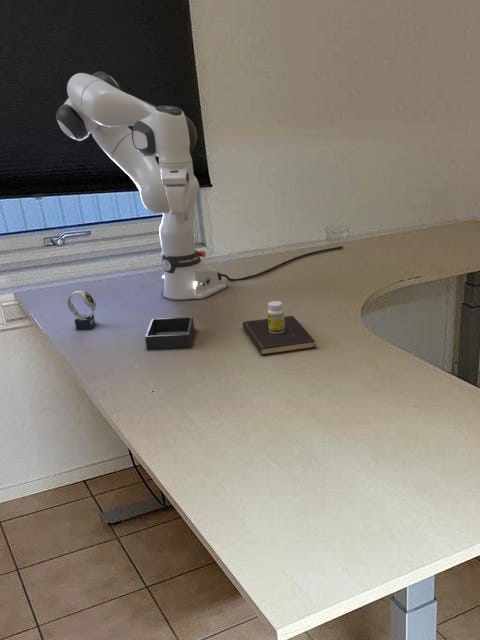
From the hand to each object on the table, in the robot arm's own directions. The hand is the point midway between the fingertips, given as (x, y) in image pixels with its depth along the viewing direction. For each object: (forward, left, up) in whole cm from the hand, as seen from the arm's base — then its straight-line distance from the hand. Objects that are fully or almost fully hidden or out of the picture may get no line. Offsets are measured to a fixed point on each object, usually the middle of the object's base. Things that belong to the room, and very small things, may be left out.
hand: (183, 224), depth 211 cm
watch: (+18, -30, -31) cm, 47 cm away
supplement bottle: (-9, +25, -29) cm, 39 cm away
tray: (+10, 0, -31) cm, 33 cm away
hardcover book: (-9, +25, -31) cm, 41 cm away
